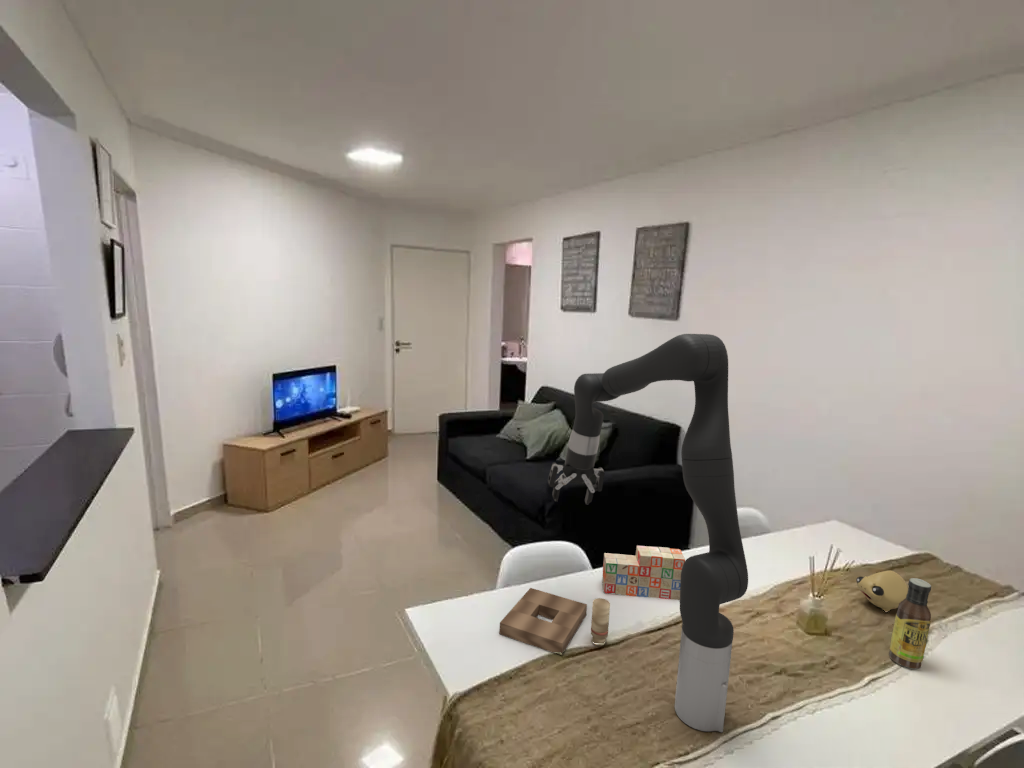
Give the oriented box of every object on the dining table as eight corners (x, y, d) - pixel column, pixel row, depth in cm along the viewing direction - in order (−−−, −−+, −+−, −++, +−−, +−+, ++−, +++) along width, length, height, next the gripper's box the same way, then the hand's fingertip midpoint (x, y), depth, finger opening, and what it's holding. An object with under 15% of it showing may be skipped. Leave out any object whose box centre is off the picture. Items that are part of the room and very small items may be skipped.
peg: (609, 639, 125) (612, 601, 123) (604, 649, 121) (607, 609, 119) (593, 634, 126) (595, 596, 125) (587, 643, 123) (590, 604, 121)
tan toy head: (846, 598, 147) (851, 563, 146) (883, 596, 149) (888, 561, 147) (875, 618, 138) (880, 581, 136) (914, 616, 139) (920, 579, 138)
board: (586, 615, 134) (587, 604, 134) (561, 655, 118) (562, 643, 118) (529, 598, 141) (530, 587, 141) (499, 634, 125) (499, 622, 125)
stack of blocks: (603, 594, 145) (606, 552, 143) (601, 582, 151) (604, 542, 149) (682, 600, 143) (685, 558, 141) (677, 588, 149) (680, 548, 147)
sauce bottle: (899, 669, 118) (912, 588, 115) (882, 651, 124) (894, 573, 121) (929, 672, 117) (943, 590, 114) (910, 654, 123) (923, 576, 120)
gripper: (558, 451, 129) (547, 506, 135) (613, 456, 131) (600, 511, 136) (553, 437, 136) (543, 491, 142) (606, 443, 138) (593, 496, 143)
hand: (571, 501), depth 139 cm, fingers open, 8 cm apart
